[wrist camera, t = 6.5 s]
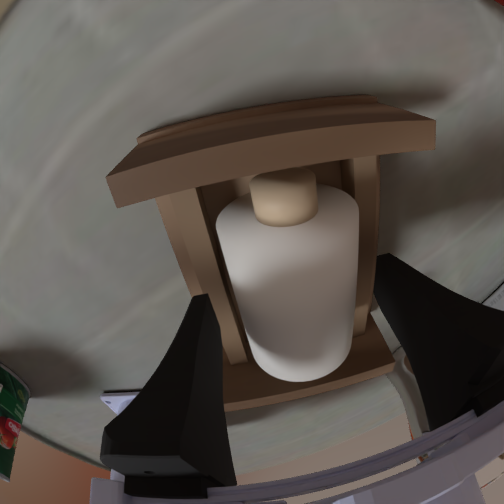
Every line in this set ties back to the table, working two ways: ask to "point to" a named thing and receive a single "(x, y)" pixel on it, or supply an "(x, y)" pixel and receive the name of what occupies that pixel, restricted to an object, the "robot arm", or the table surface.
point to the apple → (500, 2)
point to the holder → (237, 184)
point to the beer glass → (417, 417)
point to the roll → (293, 271)
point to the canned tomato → (10, 416)
